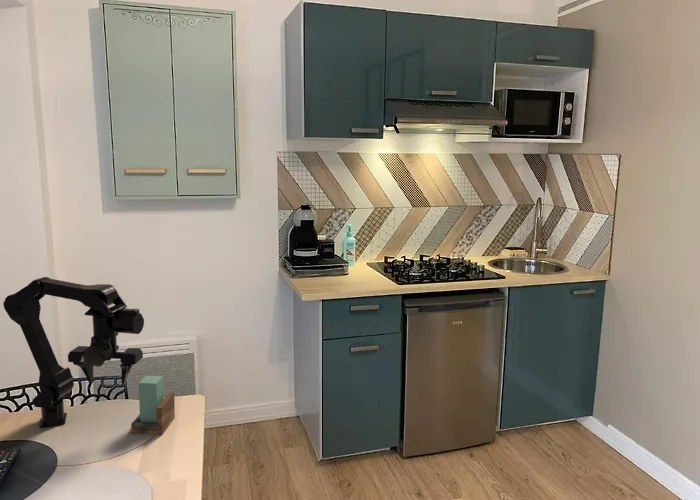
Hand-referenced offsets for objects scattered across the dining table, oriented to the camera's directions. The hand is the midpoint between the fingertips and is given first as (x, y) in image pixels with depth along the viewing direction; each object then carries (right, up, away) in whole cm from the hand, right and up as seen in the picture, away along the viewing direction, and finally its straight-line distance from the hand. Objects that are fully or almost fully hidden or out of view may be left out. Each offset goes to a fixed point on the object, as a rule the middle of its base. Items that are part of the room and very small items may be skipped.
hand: (107, 384), depth 152 cm
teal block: (+11, -12, +4) cm, 17 cm away
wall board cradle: (+11, -13, +4) cm, 18 cm away
